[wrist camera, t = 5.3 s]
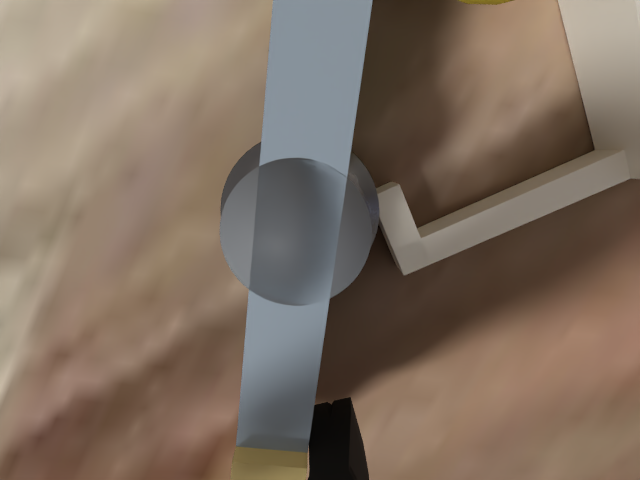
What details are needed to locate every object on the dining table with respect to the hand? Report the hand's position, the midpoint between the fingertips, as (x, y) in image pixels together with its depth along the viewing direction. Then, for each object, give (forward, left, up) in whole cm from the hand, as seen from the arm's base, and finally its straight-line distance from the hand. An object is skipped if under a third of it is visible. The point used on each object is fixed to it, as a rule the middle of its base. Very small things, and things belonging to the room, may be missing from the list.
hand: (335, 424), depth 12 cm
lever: (-2, -7, 0) cm, 8 cm away
